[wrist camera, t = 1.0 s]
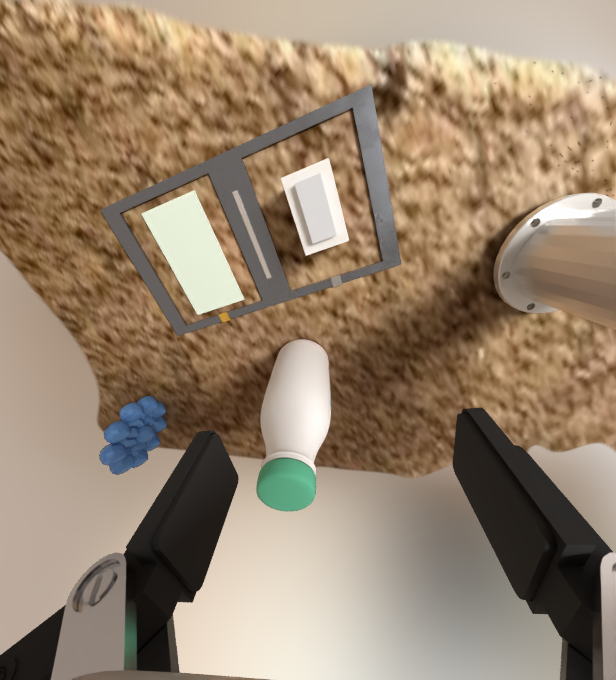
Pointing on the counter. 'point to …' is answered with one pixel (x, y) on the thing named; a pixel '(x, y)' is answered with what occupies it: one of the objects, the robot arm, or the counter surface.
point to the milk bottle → (294, 425)
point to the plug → (316, 207)
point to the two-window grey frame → (250, 220)
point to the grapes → (133, 435)
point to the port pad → (193, 253)
